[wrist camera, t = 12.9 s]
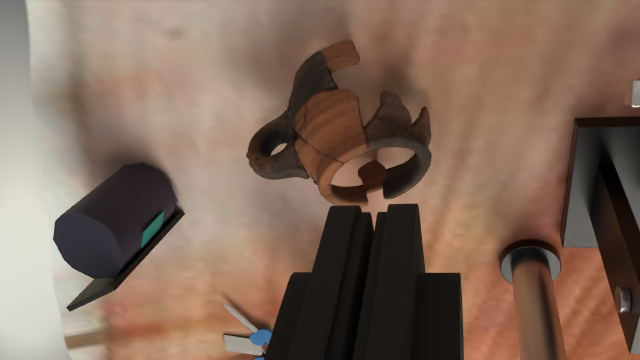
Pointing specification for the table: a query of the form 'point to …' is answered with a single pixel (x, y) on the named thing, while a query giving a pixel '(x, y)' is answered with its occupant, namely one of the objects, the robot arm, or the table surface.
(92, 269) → the speaker
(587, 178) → the black lever stand
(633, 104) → the tap lever
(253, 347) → the key chain
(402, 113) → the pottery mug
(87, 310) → the table surface
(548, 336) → the spout
